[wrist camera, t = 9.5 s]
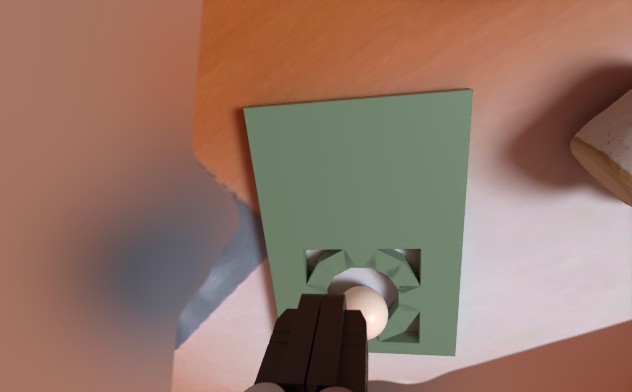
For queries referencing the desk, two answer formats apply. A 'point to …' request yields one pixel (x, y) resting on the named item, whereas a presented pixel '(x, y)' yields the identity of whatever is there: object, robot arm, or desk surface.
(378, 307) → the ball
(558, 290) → the desk surface
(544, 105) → the desk surface
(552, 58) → the desk surface
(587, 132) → the ceramic mug
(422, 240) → the putting board
